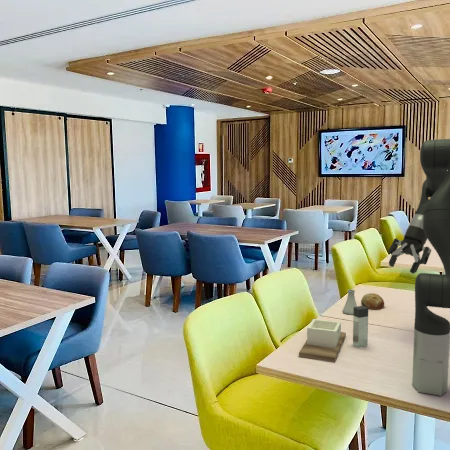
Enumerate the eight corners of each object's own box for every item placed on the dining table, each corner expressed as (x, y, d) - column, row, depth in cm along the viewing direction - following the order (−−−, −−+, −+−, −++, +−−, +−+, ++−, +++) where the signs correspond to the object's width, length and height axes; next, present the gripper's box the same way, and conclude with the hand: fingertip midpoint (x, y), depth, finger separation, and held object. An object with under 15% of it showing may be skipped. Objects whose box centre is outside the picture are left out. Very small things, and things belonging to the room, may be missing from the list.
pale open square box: (336, 348, 154) (336, 331, 154) (307, 344, 158) (307, 327, 158) (340, 337, 164) (340, 322, 163) (313, 334, 167) (313, 318, 167)
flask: (340, 314, 195) (340, 291, 193) (344, 309, 201) (344, 287, 200) (357, 316, 191) (358, 293, 190) (361, 311, 198) (361, 289, 196)
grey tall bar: (367, 346, 159) (368, 308, 158) (358, 348, 158) (359, 309, 156) (361, 343, 162) (362, 305, 160) (352, 345, 161) (353, 307, 159)
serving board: (334, 362, 147) (335, 357, 147) (298, 356, 152) (298, 352, 151) (345, 336, 169) (345, 332, 169) (313, 332, 174) (313, 328, 173)
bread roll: (359, 312, 207) (353, 298, 205) (374, 300, 211) (369, 286, 208) (374, 318, 199) (369, 303, 196) (390, 306, 202) (385, 291, 199)
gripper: (397, 221, 167) (379, 260, 166) (433, 229, 156) (414, 271, 154) (406, 229, 172) (389, 267, 170) (442, 237, 160) (423, 278, 159)
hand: (401, 269), depth 162 cm, fingers open, 8 cm apart
